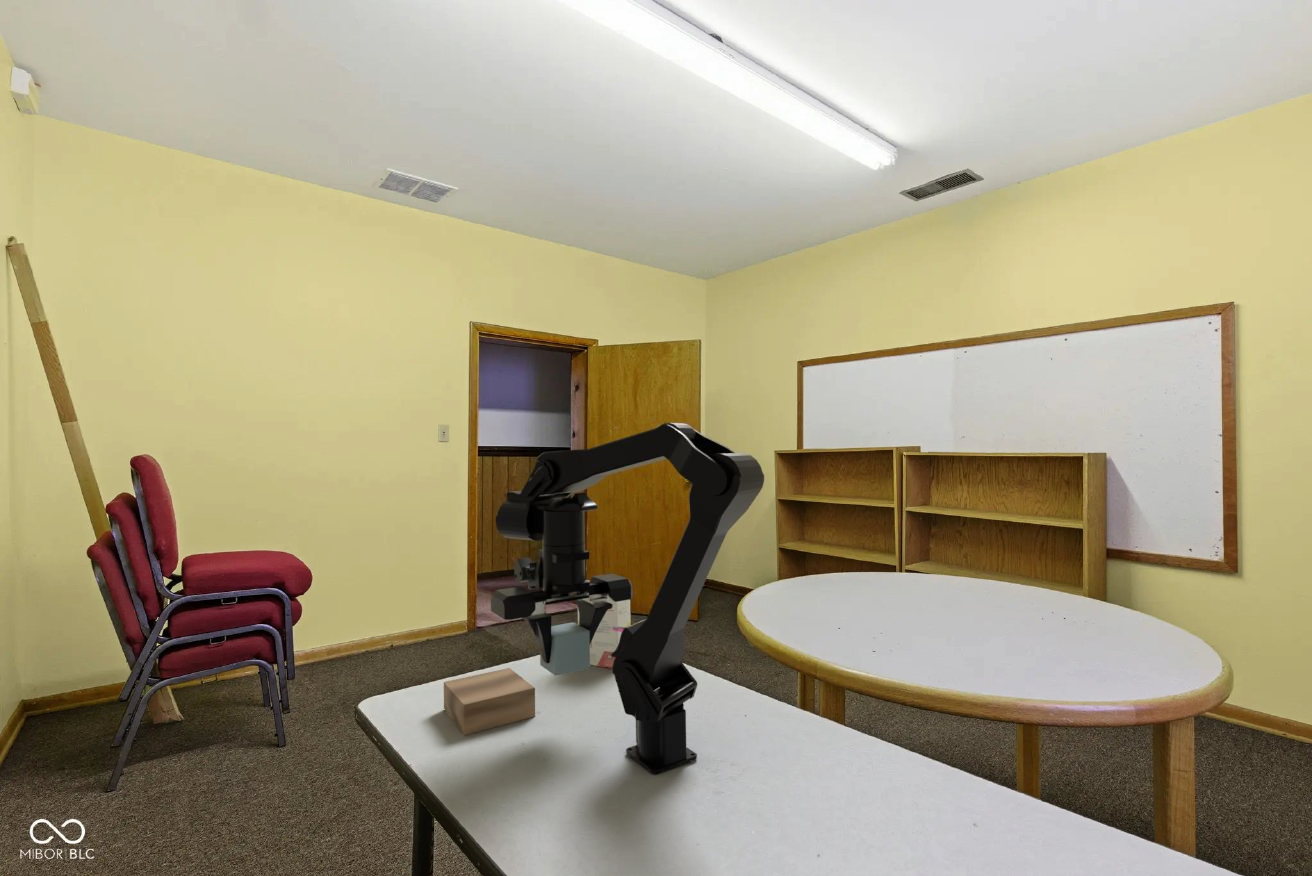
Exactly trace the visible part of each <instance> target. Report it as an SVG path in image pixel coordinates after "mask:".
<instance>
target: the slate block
mask: <svg viewBox="0 0 1312 876" xmlns="http://www.w3.org/2000/svg"><path fill="white" fill-rule="evenodd" d="M539 656H540V658H539V663H540V666H541V667H543V668H544V669H545V670H547V671H548V672H550V673H551V674H552V675H553V676H555V677H556V676H561V675H566V674H570V673H574V672H577V671H578V672H579V671H582V670H587V669H590V668H591V665H590V634H589V630H587V629H585V628H583V627H581V626H579V625H578V623H576V622H566V623H562V624H556V625H551V656H550V662H549V663H547V664H546V663H545V662H544V661H543V658H542V655H541V652H540V651H539Z"/></svg>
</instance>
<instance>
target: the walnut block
mask: <svg viewBox="0 0 1312 876" xmlns="http://www.w3.org/2000/svg"><path fill="white" fill-rule="evenodd" d="M444 709H445V710H444ZM443 710H444V711H446V712H447V713H446V712H445V713H446V714H447V715H448V716H450V717H451V718H450V717H449V718H450V719H451V720H452V722H453V721H454V722H455V723H454V722H453V723H454V724H455V725H456V727H457V728H458V729H459V730H460V732H461V733H462V734H463V735H464V736H467V735H471V734H474V733H478V732H481V731H485V730H489V729H493V728H497V727H500V726H504V725H508V724H512V723H515V722H519V721H523V720H526V719H527V720H528V719H530V718H534V717H536V687H535V686H533V685H532V684H531V683H529V682H528V681H527V680H526V679H524V677H522V676H521V675H520V674H518V673H516V672H515V671H514V670H513V669H512V668H510V667H508V668H507V667H506V668H504V669H499V670H493V671H489V672H483V673H479V674H475V675H470V676H465V677H461V678H457V679H452V680H448V681H444V682H443Z"/></svg>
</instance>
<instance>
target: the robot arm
mask: <svg viewBox="0 0 1312 876" xmlns="http://www.w3.org/2000/svg"><path fill="white" fill-rule="evenodd" d="M663 460H668V461H669V462H670V464H671V465H672V466H673V468H674V469H675V470H676V471H677V473H678V474H679V475H680V476H681V477H683V478H684V479H685V480H687V481H688V482H689V483H691V486H690V489H689V493H688V501H689V502H688V506H689V507H688V508H689V519H688V522H687V524H686V527H685V530H684V531H683V534H682V536H681V538H680V540H679V543H678V545H677V547H676V550H675V552H674V555H673V557H672V559H671V561H670V564H669V567H668V568H667V571H666V573H665V575H664V578H663V580H662V582H661V584H660V586H659V587H660V588H659V589H658V592H657V593H656V596H655V599H654V600H653V602H652V605H651V608H650V610H649V613H648V615H647V617H646V618H645V619H642V620H640V621H637V622H635V623H633V624H631V625H630V626H628V627H625V628H624V630H623V632H622V633H621V637H620V641H619V644H618V647H617V648H616V650H615V651H614V652H613V653H612V654H611V656H612V657H616V658H615V660H614V662H613V666H612V668H611V673H612V675H613V676H614V680H615V682H616V686H617V689H618V692H619V696H620V700H621V702H622V703H621V704H622V706H623V709H624V710H623V711H624V713H625V714H626V715H628V716H632V717H633V718H634V719H635V742H636V745H631V746H629V747H627V748H626V749H625V753H626V755H628V756H629V757H630V758H631V759H633V760H634V761H635V762H637V763H638V764H639V765H641V766H642V767H643V768H644V769H646V770H647V771H648V772H650V773H651V774H655V775H656V774H659V773H662V772H665V771H668V770H670V769H673V768H676V767H678V766H682V765H683V764H687V763H690V762H693V761H695V760H697V759H698V754H697V753H696V751H693V750H691V749H690V748H689V747H687V710H686V709H685V707H684V704H685V702H687V701H688V700H692V698H694V697H695V693H696V691H697V688H698V682H697V680H696V679H695V677H694V676H693V675H692V673H691V672H690V671H689V669H688V668H687V667H686V666H685V664H684V662H682V658H683V654H684V651H685V645H684V644H685V643H684V630H685V627H686V625H687V622H688V620H689V618H690V615H691V614H692V611H693V609H694V607H695V605H696V602H697V600H698V597H699V596H700V594H701V591H702V589H703V587H704V584H705V582H706V580H707V579H708V578H707V577H708V576H709V573H710V571H711V569H712V566H713V565H714V562H715V561H716V558H717V556H718V554H719V551H720V549H721V547H722V546H723V545H722V544H723V543H724V540H725V538H726V535H727V533H728V532H729V531H730V529H732V527H733V526H734V525H735V524H736V523H738V521H739V520H740V519H741V517H743V515H745V513H746V512H747V511H748V510H749V509H750V507H751V505H752V504H753V503H754V501H756V498H757V497H758V495H759V493H760V492H761V490H762V489H763V487H764V484H765V483H764V482H765V474H764V472H763V470H762V467H761V464H760V463H759V461H758V460H757V459H756V458H755V457H754V456H752V455H751V454H748V453H745V452H735V451H733V449H730V448H729V447H728V446H726V445H724V444H721V443H720V442H718V441H716V440H714V439H712V438H710V437H708V436H705V435H704V434H702V433H701V432H699V431H698V430H696V429H695V428H693V427H692V426H691V425H689V424H687V423H683V422H682V423H681V422H665V423H662V424H660V425H659V426H657V427H655V428H652V429H648V430H645V431H642V432H638V433H636V434H632V435H629V436H625V437H623V438H619V439H616V440H612V441H609V442H607V443H602V444H599V445H597V446H593V447H590V448H583V449H566V450H563V449H562V450H551V451H543V452H542V453H541V454H539V455H538V456H537V458H536V462H535V465H534V468H533V470H532V472H531V473H530V475H529V477H528V479H527V481H526V482H525V484H524V487H523V488H522V490H521V491H520V490H516V491H515V490H514V491H508V492H506V500H505V501H504V502H503V503H502V504H501V505H500V507H499V509H498V510H497V514H496V515H495V527H496V529H497V531H498V533H499V534H500V535H501V537H504V538H506V539H515V540H524V541H525V540H526V541H537V542H538V541H542V543H541V544H542V549H539V550H538V555H537V558H538V559H537V561H533V562H532V558H530V557H523V558H518V559H515V560H514V572H513V573H514V580H515V582H516V584H522V583H527V587H528V589H525V588H523V587H521V586H516V587H508V588H503V589H502V588H501V589H495V590H494V591H493V593H492V595H491V597H490V612H492V613H493V614H494V615H497V616H498V617H499V618H501V619H503V620H507V621H511V620H512V621H513V620H518V619H523V620H524V621H526V622H527V623H528V625H529V628H530V629H531V631H532V633H533V636H534V638H535V641H536V644H537V646H538V649H539V653H540V652H541V655H542V658H543V661H544V662H545V663H546V664H547V663H549V662H550V656H551V626H552V619H553V618H552V615H551V614H549V613H547V612H546V609H547V606H546V605H552V604H558V603H560V604H561V603H565V602H570V601H576V605H577V611H578V610H579V626H581V627H583V628H585V629H587V630H589V634H590V644H591V641H592V639H593V637H594V634H595V632H596V630H597V628H598V626H599V624H600V622H601V621H602V619H603V617H604V615H605V613H606V612H607V610H608V609H612V607H613V604H611V603H608V596H609V597H610V598H611V599H612V600H613V601H614V602H618V601H624V600H630V601H631V600H632V599H633V593H634V592H633V591H634V590H633V588H634V587H633V584H632V582H631V580H630V579H629V578H627V577H625V576H621V575H618V574H615V573H606V574H600V575H599V574H598V575H593V576H592V577H591V578H590V580H589V581H590V582H587V581H585V580H586V560H587V561H588V560H590V551H588V550H586V542H585V537H586V536H585V533H586V532H585V530H586V529H585V512H588V511H589V512H591V511H596V510H598V505H597V503H596V502H594V501H593V500H592V499H591V498H590V497H589V495H588V494H587V493H586V492H582V491H585V490H587V489H588V488H590V487H592V486H595V485H596V484H598V483H599V482H600V481H602V479H604V478H605V477H608V476H609V475H612V474H613V475H614V474H616V473H620V472H623V471H627V470H632V469H635V468H638V467H642V466H646V465H649V464H653V463H657V462H659V461H663ZM572 494H574V495H572ZM571 495H572V497H570V496H571ZM536 589H542V590H539V591H538V590H537V591H531V590H536Z"/></svg>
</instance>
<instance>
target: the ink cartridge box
mask: <svg viewBox="0 0 1312 876" xmlns="http://www.w3.org/2000/svg"><path fill="white" fill-rule="evenodd" d="M585 581H587V582H590V580H587V579H585ZM608 603H611V604H613V607H612V609H608V610H607V612H606V613H605V615H604V617H603V619H602V621H601V622H600V624H599V626H598V628H597V630H596V632H595V634H594V637H593V639H592V641H591V644H590V666H596V667H603V668H607V667H608V669H612V666H613V662H614V660H615V658H616V657H612V656H611V654H612V653H613V652H614V651H615V650H616V648H617V647H618V644H619V641H620V637H621V633H622V632H623V630H624V628H625V627H628V626H630V625H632V623H631V622H632V621H631V620H632V619H631V616H632V615H631V599H630V600H624V601H618V602H614V601H613V600H612V599H611V598H610V597H609V596H608ZM577 625H579V610H578V609H577Z"/></svg>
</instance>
